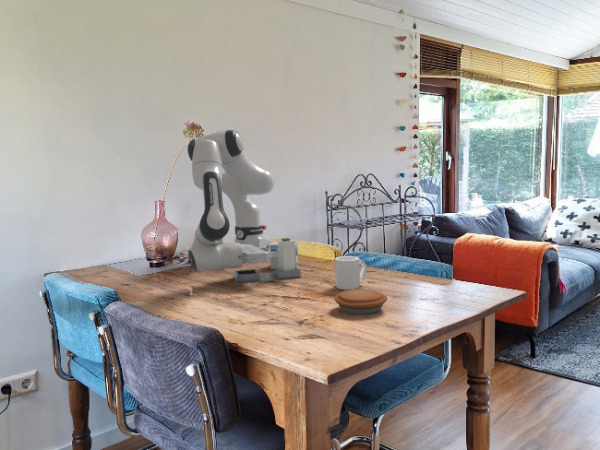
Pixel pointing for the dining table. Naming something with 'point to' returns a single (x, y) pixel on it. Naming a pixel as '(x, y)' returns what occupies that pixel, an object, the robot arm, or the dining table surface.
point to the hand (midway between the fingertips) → (272, 251)
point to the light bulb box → (274, 260)
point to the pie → (360, 301)
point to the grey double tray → (264, 275)
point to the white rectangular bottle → (286, 254)
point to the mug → (349, 272)
